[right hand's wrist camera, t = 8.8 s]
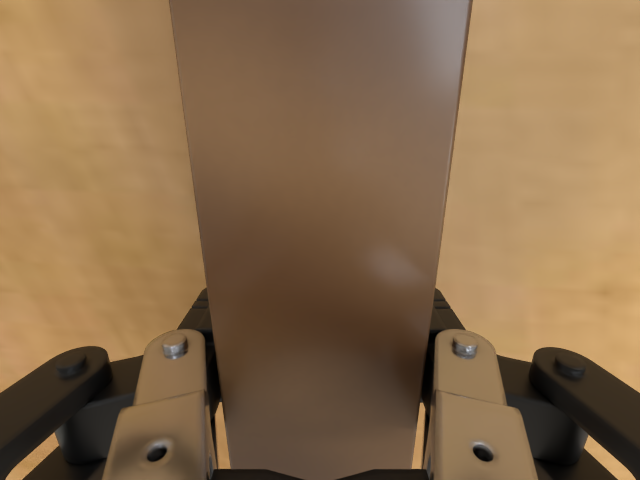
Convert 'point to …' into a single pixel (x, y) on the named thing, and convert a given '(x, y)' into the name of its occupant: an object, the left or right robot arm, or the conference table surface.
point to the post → (320, 216)
